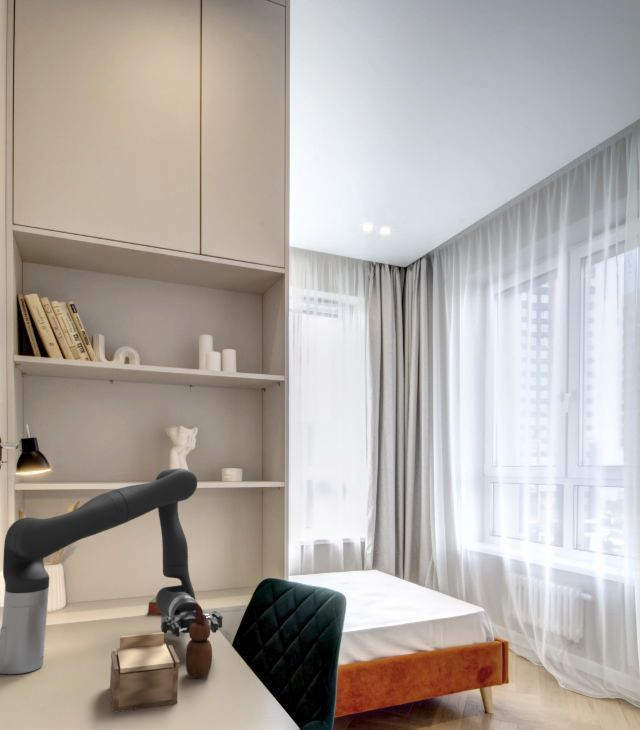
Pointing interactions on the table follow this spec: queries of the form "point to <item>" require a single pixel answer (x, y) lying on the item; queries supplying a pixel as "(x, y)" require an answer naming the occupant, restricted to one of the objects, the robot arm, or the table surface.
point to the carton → (153, 608)
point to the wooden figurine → (199, 647)
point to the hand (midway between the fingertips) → (196, 629)
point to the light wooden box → (143, 685)
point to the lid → (143, 653)
